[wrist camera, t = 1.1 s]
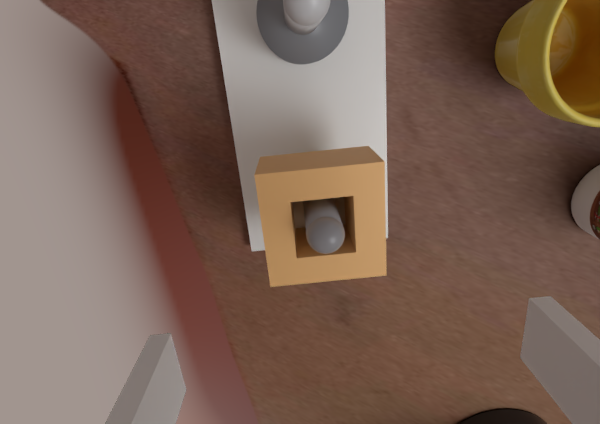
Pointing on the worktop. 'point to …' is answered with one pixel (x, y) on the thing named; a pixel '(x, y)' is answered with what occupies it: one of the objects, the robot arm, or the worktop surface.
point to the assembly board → (303, 93)
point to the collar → (322, 185)
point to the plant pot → (555, 57)
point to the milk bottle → (588, 203)
